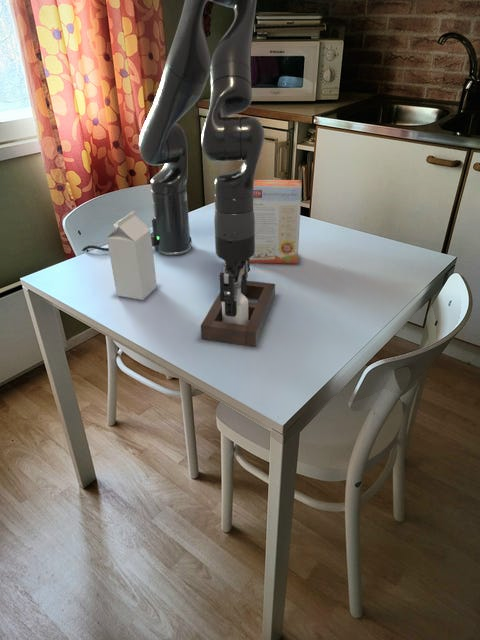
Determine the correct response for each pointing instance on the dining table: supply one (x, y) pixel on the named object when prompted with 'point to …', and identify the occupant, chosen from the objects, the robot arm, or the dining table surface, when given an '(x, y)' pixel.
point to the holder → (235, 332)
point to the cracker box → (276, 220)
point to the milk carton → (132, 258)
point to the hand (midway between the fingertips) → (236, 304)
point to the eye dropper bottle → (241, 310)
